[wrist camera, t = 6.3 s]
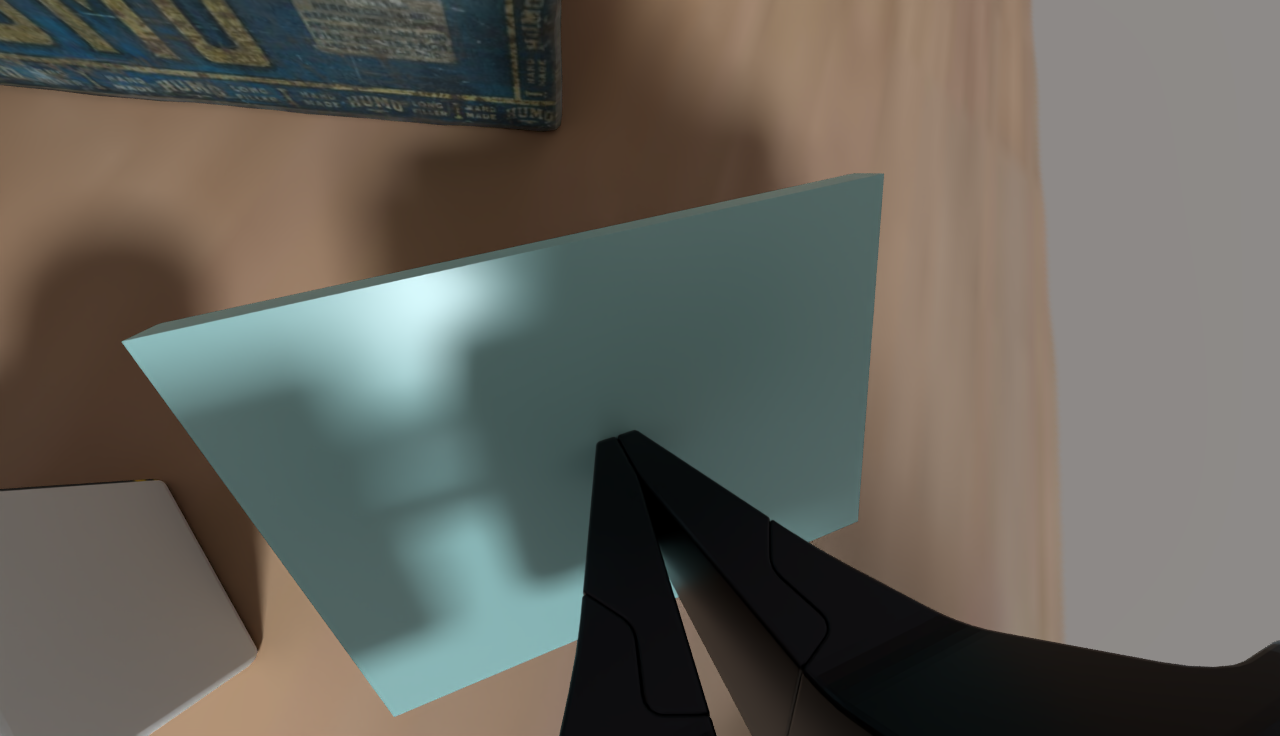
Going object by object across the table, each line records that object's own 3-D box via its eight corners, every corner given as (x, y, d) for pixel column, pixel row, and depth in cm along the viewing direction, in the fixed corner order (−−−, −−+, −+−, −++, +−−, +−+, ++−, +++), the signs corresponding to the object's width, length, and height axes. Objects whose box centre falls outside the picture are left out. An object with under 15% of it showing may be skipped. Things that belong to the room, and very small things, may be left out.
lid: (837, 503, 13) (857, 521, 13) (399, 681, 11) (393, 717, 10) (853, 173, 9) (883, 173, 9) (158, 323, 7) (121, 341, 6)
